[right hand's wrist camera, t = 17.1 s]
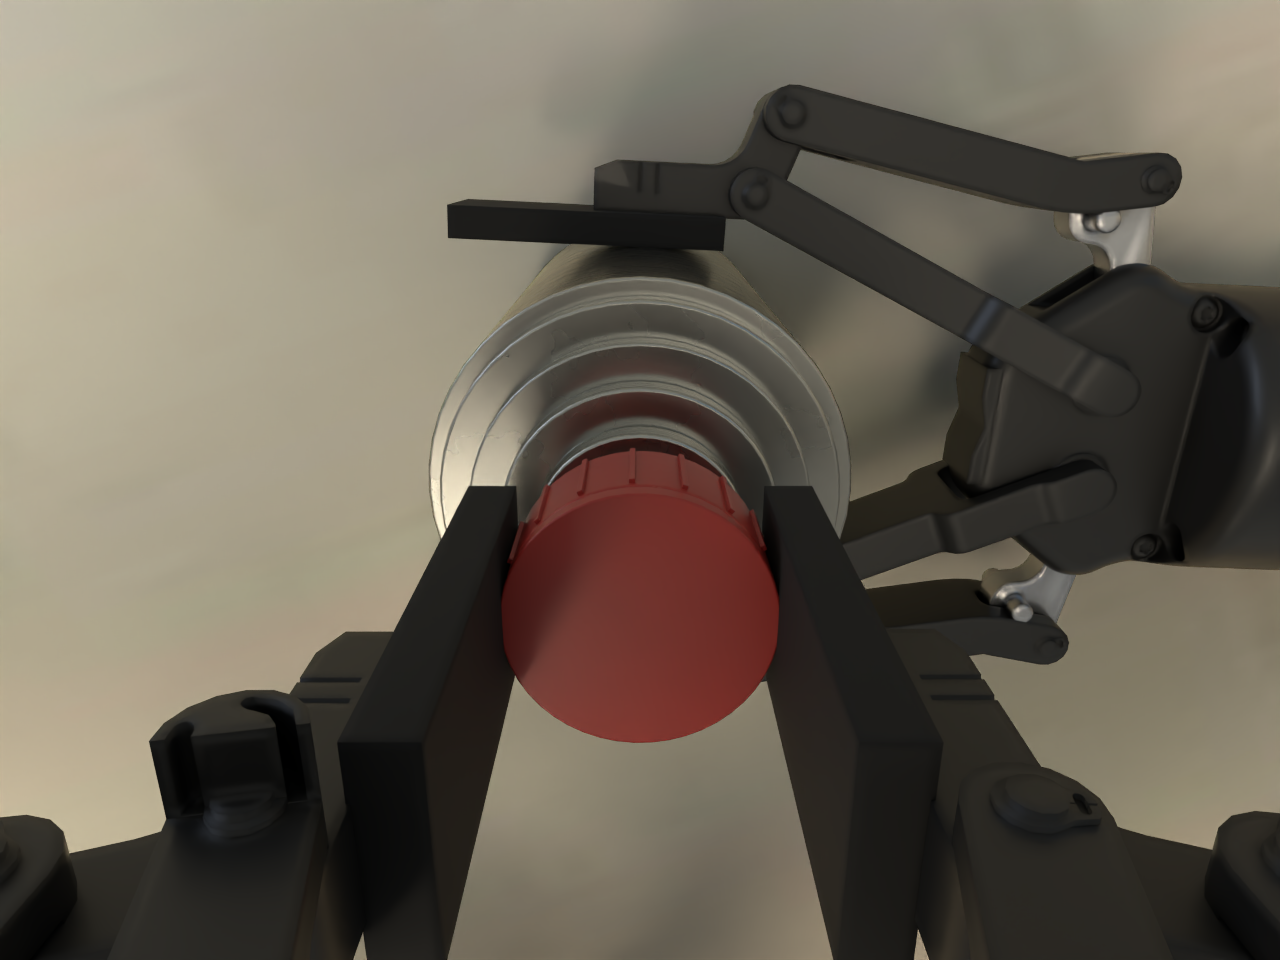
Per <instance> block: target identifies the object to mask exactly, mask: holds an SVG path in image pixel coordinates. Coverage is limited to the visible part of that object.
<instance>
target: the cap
mask: <svg viewBox="0 0 1280 960" xmlns="http://www.w3.org/2000/svg"><path fill="white" fill-rule="evenodd" d="M766 550H767V548H766V544H765V541H764V538H763V535H762V532H761V529H760V526H759V523H758V520H757V516H756V513H755V511H754V510H753V509H752V510H751V511H749V509H748V507H747V506H746V504H745V503H744V501H743V500H742V499H741V498H740V496H739V495H738V494H737V493H736V492H735V490H734V489H732V488H731V487H730V486H729V485H728V483H727V479H726V477H724V476H723V475H722V476H721V477H718V476H717V475H716V474H714V473H713V472H711V471H710V470H708V469H706V468H704V467H703V466H701V465H699V464H697V463H695V462H692V461H689V460H687V459H685V458H684V455H683V454H679V455H678V456H674V455H670V454H666V453H659V452H650V451H635V448H630V451H628V452H621V453H614V454H610V455H606V456H602V457H599V458H595V459H593V460H591V461H588V459H584V460H582V464H581V465H579V466H577V467H576V468H574V469H572V470H570V471H569V472H567V473H565V474H564V475H563V476H562V477H560V478H559V479H558V480H556V481H555V482H554V483H553V484H552V485H551V486H549V485H547V484H546V485H545V486H544V488H543V491H542V495H541V496H540V497H539V499H538V500H537V502H536V503H535V504H534V506H533V507H532V509H531V510H530V512H529V514H528V516H527V518H526V520H525V522H522V521H520V524H519V526H518V530H517V533H516V536H515V539H514V542H513V545H512V548H511V551H510V554H509V557H508V561H507V563H509V564H510V567H509V570H508V574H507V577H506V580H505V583H504V587H503V591H502V596H501V609H502V626H503V642H504V652H505V654H506V657H507V659H508V662H509V664H510V667H511V668H512V670H513V672H514V674H515V676H516V677H517V679H518V681H519V682H520V683H521V685H522V686H523V687H524V689H525V690H526V691H527V693H528V694H529V695H530V696H531V697H532V698H533V699H534V700H535V701H536V702H537V703H538V704H539V705H540V706H541V707H542V708H543V709H545V710H546V711H547V712H549V713H550V714H551V715H552V716H554V717H555V718H557V719H559V720H560V721H562V722H564V723H565V724H567V725H569V726H571V727H573V728H575V729H577V730H580V731H582V732H584V733H587V734H590V735H593V736H596V737H600V738H604V739H609V740H614V741H622V742H632V743H643V742H658V741H666V740H671V739H675V738H680V737H684V736H687V735H690V734H693V733H695V732H698V731H701V730H703V729H705V728H707V727H709V726H711V725H713V724H715V723H717V722H718V721H720V720H721V719H723V718H724V717H726V716H727V715H729V714H730V713H732V712H733V711H734V710H735V709H736V708H738V707H739V706H740V705H741V704H742V703H743V702H744V701H745V700H746V699H747V698H748V697H749V696H750V695H751V694H752V693H753V692H754V690H755V689H756V688H757V686H758V685H759V683H760V682H761V680H762V679H763V678H764V676H765V674H766V672H767V670H768V668H769V666H770V664H771V662H772V660H773V657H774V654H775V651H776V648H777V635H778V619H779V595H778V591H777V587H776V583H775V580H774V577H773V574H772V570H771V567H770V564H769V561H768V558H767V555H766Z"/></svg>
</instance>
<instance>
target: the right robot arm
mask: <svg viewBox="0 0 1280 960" xmlns="http://www.w3.org/2000/svg"><path fill="white" fill-rule="evenodd" d="M517 530H518V508H517V488H516V486H468V488H467V490H466V492H465V494H464V496H463V498H462V500H461V502H460V503H459V505H458V507H457V509H456V511H455V513H454V515H453V517H452V519H451V521H450V523H449V525H448V527H447V529H446V531H445V533H444V535H443V537H442V539H441V540H440V542H439V544H438V546H437V548H436V550H435V552H434V554H433V556H432V558H431V560H430V562H429V564H428V566H427V568H426V570H425V572H424V574H423V576H422V578H421V579H420V581H419V583H418V585H417V587H416V589H415V591H414V593H413V595H412V597H411V599H410V601H409V603H408V605H407V607H406V609H405V611H404V613H403V615H402V617H401V618H400V620H399V622H398V624H397V626H396V628H395V630H394V632H345V633H344V634H342V635H341V636H339V637H338V638H336V639H335V640H334V641H332V642H331V643H329V644H328V645H327V646H325V647H324V648H322V649H321V650H320V651H318V652H317V653H316V654H315V655H314V657H313V659H312V660H311V662H310V663H309V665H308V666H307V668H306V669H305V671H304V673H303V674H302V676H301V677H300V683H296V685H295V686H294V688H293V690H292V691H291V693H290V694H286V693H282V692H279V691H275V690H245V691H240V692H235V693H230V694H225V695H220V696H216V697H213V698H211V699H208V700H206V701H203V702H201V703H198V704H196V705H193V706H191V707H188V708H186V709H185V710H183V711H182V712H180V713H179V714H177V715H176V716H174V717H173V718H171V719H170V720H168V721H167V722H165V723H164V724H163V725H162V726H161V727H160V729H159V730H158V731H157V732H156V733H155V735H154V736H153V737H152V738H151V739H150V741H149V743H150V748H151V752H152V757H153V761H154V766H155V770H156V775H157V779H158V784H159V788H160V793H161V797H162V801H163V806H164V810H165V815H166V821H165V824H164V826H163V828H162V831H161V832H158V833H155V834H151V835H148V836H144V837H141V838H137V839H134V840H129V841H125V842H120V843H116V844H111V845H106V846H102V847H97V848H93V849H88V850H84V851H79V852H75V853H70V854H69V851H68V847H67V843H66V840H65V836H64V832H63V831H62V830H61V829H60V828H59V827H58V826H57V825H56V824H54V823H53V822H52V821H51V820H50V819H45V818H40V817H35V816H30V815H21V816H10V817H0V960H353V958H354V955H355V953H356V950H357V947H358V944H359V941H360V939H361V936H362V933H363V934H364V942H365V949H366V956H367V960H447V958H448V954H449V950H450V946H451V942H452V937H453V933H454V929H455V925H456V921H457V916H458V912H459V908H460V904H461V900H462V895H463V891H464V887H465V883H466V879H467V875H468V870H469V866H470V862H471V858H472V854H473V849H474V845H475V841H476V837H477V833H478V828H479V824H480V820H481V816H482V812H483V807H484V803H485V799H486V795H487V791H488V786H489V782H490V778H491V774H492V770H493V765H494V761H495V757H496V753H497V749H498V745H499V740H500V736H501V732H502V728H503V724H504V719H505V715H506V711H507V707H508V703H509V698H510V694H511V690H512V686H513V682H514V677H515V674H514V672H513V670H512V668H511V667H510V664H509V662H508V659H507V657H506V654H505V652H504V642H503V626H502V609H501V596H502V591H503V587H504V583H505V580H506V577H507V574H508V570H509V567H510V564H509V563H507V561H508V557H509V554H510V551H511V548H512V545H513V542H514V539H515V536H516V533H517ZM762 535H763V538H764V541H765V544H766V548H767V550H766V555H767V558H768V561H769V564H770V567H771V570H772V574H773V577H774V580H775V583H776V587H777V591H778V595H779V619H778V635H777V648H776V651H775V654H774V657H773V660H772V662H771V664H770V666H769V668H768V670H767V672H766V674H765V675H766V679H767V683H768V688H769V692H770V696H771V700H772V704H773V709H774V713H775V717H776V721H777V725H778V729H779V734H780V738H781V742H782V746H783V750H784V755H785V759H786V763H787V767H788V771H789V776H790V780H791V784H792V788H793V792H794V797H795V801H796V805H797V809H798V813H799V818H800V822H801V826H802V830H803V834H804V838H805V843H806V847H807V851H808V855H809V859H810V864H811V868H812V872H813V876H814V880H815V885H816V889H817V893H818V897H819V901H820V906H821V910H822V914H823V918H824V922H825V927H826V931H827V935H828V939H829V943H830V947H831V952H832V956H833V960H914V953H915V946H916V939H917V932H918V929H919V932H920V935H921V938H922V941H923V943H924V946H925V949H926V952H927V955H928V957H929V960H1280V813H1271V812H1260V811H1253V812H1248V813H1243V814H1238V815H1233V816H1231V817H1230V818H1229V819H1227V820H1226V821H1225V822H1224V823H1223V824H1222V825H1221V826H1220V827H1219V828H1218V832H1217V835H1216V839H1215V842H1214V846H1213V850H1210V849H1206V848H1201V847H1197V846H1192V845H1187V844H1183V843H1178V842H1174V841H1169V840H1165V839H1160V838H1155V837H1151V836H1146V835H1143V834H1139V833H1136V832H1132V831H1129V830H1126V829H1122V828H1120V827H1117V825H1116V822H1115V820H1114V818H1113V816H1112V815H1111V813H1110V812H1109V811H1108V809H1107V808H1106V806H1105V805H1104V804H1103V802H1102V801H1101V799H1100V798H1099V797H1097V796H1096V795H1095V794H1093V793H1092V792H1091V791H1089V790H1088V789H1087V788H1085V787H1084V786H1083V785H1081V784H1080V783H1079V782H1077V781H1075V780H1073V779H1071V778H1069V777H1067V776H1064V775H1062V774H1060V773H1058V772H1056V771H1053V770H1051V769H1048V768H1044V767H1041V766H1040V765H1039V763H1038V762H1037V760H1036V758H1035V757H1034V755H1033V754H1032V752H1031V751H1030V749H1029V748H1028V746H1027V745H1026V743H1025V742H1024V740H1023V738H1022V737H1021V735H1020V734H1019V732H1018V731H1017V729H1016V728H1015V726H1014V725H1013V723H1012V722H1011V720H1010V718H1009V717H1008V715H1007V714H1006V712H1005V711H1004V709H1003V708H1002V706H1001V705H1000V703H999V702H998V700H994V694H993V692H992V691H991V689H990V688H989V686H988V685H987V683H986V682H985V680H984V679H981V674H980V672H979V671H978V669H977V668H976V666H975V665H974V663H973V662H972V660H971V659H970V657H969V656H968V654H967V652H966V651H965V650H964V649H963V648H961V647H960V646H959V645H957V644H956V643H954V642H953V641H951V640H950V639H949V638H947V637H946V636H944V635H943V634H942V633H940V632H939V631H937V630H936V629H885V627H884V625H883V623H882V621H881V619H880V617H879V615H878V613H877V611H876V609H875V607H874V605H873V604H872V602H871V600H870V598H869V596H868V594H867V592H866V590H865V588H864V586H863V584H862V582H861V580H860V578H859V576H858V574H857V572H856V570H855V568H854V567H853V565H852V563H851V561H850V559H849V557H848V555H847V553H846V551H845V549H844V547H843V545H842V543H841V541H840V539H839V537H838V535H837V533H836V531H835V530H834V528H833V526H832V524H831V522H830V520H829V518H828V516H827V514H826V512H825V510H824V508H823V506H822V504H821V502H820V500H819V498H818V496H817V494H816V493H815V491H814V489H813V487H812V486H764V500H763V520H762Z"/></svg>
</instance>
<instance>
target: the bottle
mask: <svg viewBox="0 0 1280 960" xmlns="http://www.w3.org/2000/svg"><path fill="white" fill-rule="evenodd" d="M630 448H635V451H650V452H659V453H666V454H670V455H674V456H678V455H679V454H683V455H684V458H685V459H687V460H689V461H692V462H695V463H697V464H699V465H701V466H703V467H704V468H706V469H708V470H710V471H711V472H713V473H714V474H716V475H717V476H718V477H721V476H722V475H723V476H724V477H726V479H727V483H728V485H729V486H730V487H731V488H732V489H734V490H735V492H736V493H737V494H738V495H739V496H740V498H741V499H742V500H743V501H744V503H745V504H746V506H747V507H748V509H749V511H751V510H752V509H753V510H754V511H755V513H756V516H757V520H758V523H759V526H760V529H761V532H762V520H763V500H764V486H812V487H813V489H814V491H815V493H816V494H817V496H818V498H819V500H820V502H821V504H822V506H823V508H824V510H825V512H826V514H827V516H828V518H829V520H830V522H831V524H832V526H833V528H834V530H835V531H836V533H837V535H838V537H839V539H840V537H841V533H842V530H843V527H844V523H845V520H846V517H847V511H848V505H849V498H850V492H851V459H850V452H849V444H848V437H847V433H846V430H845V426H844V422H843V419H842V415H841V412H840V410H839V407H838V405H837V403H836V400H835V398H834V396H833V393H832V391H831V389H830V387H829V385H828V384H827V382H826V380H825V379H824V377H823V375H822V374H821V372H820V370H819V369H818V367H817V366H816V364H815V363H814V362H813V360H812V359H811V358H810V357H809V355H808V354H807V353H806V352H805V351H804V349H803V348H802V347H801V346H800V345H799V343H798V342H797V341H796V340H795V339H794V337H793V336H792V335H791V334H790V333H789V331H788V330H787V329H786V328H785V327H784V325H783V324H782V323H781V322H780V320H779V319H778V318H777V317H776V316H775V314H774V313H773V312H772V311H771V310H770V308H769V307H768V306H767V305H766V304H765V302H764V301H763V300H762V299H761V298H760V296H759V295H758V294H757V293H756V292H755V290H754V289H753V288H752V287H751V286H750V284H749V283H748V282H747V281H746V280H745V278H744V277H743V276H742V275H741V273H740V272H739V271H738V270H737V269H736V267H735V266H734V265H733V264H732V263H731V262H730V261H729V260H728V259H727V258H726V257H725V256H724V255H723V254H721V253H720V252H719V251H709V250H688V249H667V248H646V247H625V246H605V245H584V244H570V245H569V246H568V247H566V248H565V249H563V250H562V251H561V252H559V253H558V254H557V255H556V256H555V257H554V258H553V259H552V260H551V261H550V262H549V263H548V264H547V265H546V266H545V267H544V268H543V270H542V271H541V272H540V273H539V274H538V276H537V277H536V278H535V279H534V280H533V282H532V283H531V284H530V285H529V286H528V288H527V289H526V290H525V291H524V292H523V294H522V295H521V296H520V297H519V299H518V300H517V301H516V302H515V303H514V305H513V306H512V307H511V308H510V309H509V311H508V312H507V313H506V314H505V315H504V317H503V318H502V319H501V320H500V321H499V323H498V324H497V325H496V326H495V328H494V329H493V330H492V331H491V332H490V334H489V335H488V336H487V337H486V338H485V340H484V341H483V342H482V343H481V344H480V346H479V347H478V348H477V349H476V351H475V352H474V353H473V354H472V355H471V357H470V358H469V359H468V360H467V361H466V363H465V364H464V365H463V367H462V369H461V370H460V372H459V374H458V375H457V377H456V378H455V380H454V382H453V383H452V385H451V387H450V388H449V391H448V393H447V395H446V398H445V400H444V402H443V405H442V407H441V409H440V412H439V415H438V418H437V422H436V426H435V429H434V433H433V437H432V443H431V451H430V459H429V493H430V499H431V505H432V512H433V517H434V520H435V524H436V527H437V530H438V534H439V537H440V540H441V539H442V537H443V535H444V533H445V531H446V529H447V527H448V525H449V523H450V521H451V519H452V517H453V515H454V513H455V511H456V509H457V507H458V505H459V503H460V502H461V500H462V498H463V496H464V494H465V492H466V490H467V488H468V486H516V488H517V508H518V526H519V524H520V521H522V522H525V520H526V518H527V516H528V514H529V512H530V510H531V509H532V507H533V506H534V504H535V503H536V502H537V500H538V499H539V497H540V496H541V495H542V491H543V488H544V486H545V485H546V484H547V485H549V486H551V485H552V484H553V483H554V482H555V481H556V480H558V479H559V478H560V477H562V476H563V475H564V474H565V473H567V472H569V471H570V470H572V469H574V468H576V467H577V466H579V465H581V464H582V460H584V459H588V461H591V460H593V459H595V458H599V457H602V456H606V455H610V454H614V453H621V452H628V451H630Z"/></svg>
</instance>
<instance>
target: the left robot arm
mask: <svg viewBox="0 0 1280 960" xmlns="http://www.w3.org/2000/svg"><path fill="white" fill-rule="evenodd" d="M800 150H803V151H807V152H811V153H815V154H818V155H822V156H826V157H830V158H834V159H837V160H841V161H845V162H849V163H853V164H857V165H860V166H864V167H868V168H872V169H876V170H880V171H883V172H887V173H891V174H895V175H899V176H902V177H906V178H910V179H914V180H918V181H922V182H925V183H929V184H933V185H937V186H941V187H944V188H948V189H952V190H956V191H960V192H964V193H967V194H971V195H975V196H979V197H983V198H986V199H990V200H994V201H998V202H1002V203H1006V204H1011V205H1016V206H1021V207H1028V208H1035V209H1042V210H1049V211H1054V226H1055V228H1056V231H1057V232H1058V233H1059V234H1060V236H1062V237H1063V238H1065V239H1068V240H1072V241H1077V242H1082V243H1084V244H1085V245H1087V246H1088V248H1089V249H1090V250H1091V252H1092V255H1093V261H1094V264H1093V265H1091V266H1089V267H1087V268H1085V269H1084V270H1082V271H1080V272H1079V273H1077V274H1075V275H1074V276H1072V277H1070V278H1069V279H1067V280H1065V281H1064V282H1062V283H1060V284H1059V285H1057V286H1056V287H1054V288H1052V289H1051V290H1049V291H1047V292H1046V293H1044V294H1042V295H1041V296H1039V297H1037V298H1036V299H1034V300H1032V301H1031V302H1029V303H1027V304H1026V305H1024V306H1022V307H1021V308H1019V309H1017V308H1015V307H1013V306H1011V305H1010V304H1008V303H1006V302H1004V301H1002V300H1000V299H998V298H996V297H994V296H992V295H990V294H988V293H986V292H985V291H983V290H981V289H979V288H977V287H976V286H974V285H972V284H970V283H968V282H967V281H965V280H963V279H961V278H960V277H958V276H956V275H954V274H952V273H951V272H949V271H947V270H945V269H943V268H942V267H940V266H938V265H936V264H935V263H933V262H931V261H929V260H927V259H926V258H924V257H922V256H920V255H919V254H917V253H915V252H913V251H911V250H910V249H908V248H906V247H904V246H902V245H901V244H899V243H897V242H895V241H894V240H892V239H890V238H888V237H886V236H885V235H883V234H881V233H879V232H878V231H876V230H874V229H872V228H870V227H869V226H867V225H865V224H863V223H861V222H860V221H858V220H856V219H854V218H853V217H851V216H849V215H847V214H845V213H844V212H842V211H840V210H838V209H836V208H835V207H833V206H831V205H829V204H828V203H826V202H824V201H822V200H820V199H819V198H817V197H815V196H813V195H812V194H810V193H808V192H806V191H804V190H803V189H801V188H799V187H797V186H795V185H794V184H792V183H790V182H788V181H787V179H788V176H789V174H790V172H791V170H792V168H793V165H794V163H795V161H796V159H797V156H798V154H799V152H800ZM1181 179H1182V172H1181V166H1180V164H1179V163H1178V161H1177V159H1176V158H1174V157H1173V156H1171V155H1169V154H1166V153H1100V154H1092V155H1083V156H1074V157H1066V156H1063V155H1059V154H1055V153H1051V152H1048V151H1044V150H1040V149H1036V148H1033V147H1029V146H1025V145H1022V144H1018V143H1014V142H1010V141H1007V140H1003V139H999V138H995V137H992V136H988V135H984V134H980V133H977V132H973V131H969V130H966V129H962V128H958V127H954V126H951V125H947V124H943V123H939V122H936V121H932V120H928V119H924V118H921V117H917V116H913V115H910V114H906V113H902V112H898V111H895V110H891V109H887V108H883V107H880V106H876V105H872V104H868V103H865V102H861V101H857V100H854V99H850V98H846V97H842V96H839V95H835V94H831V93H827V92H824V91H820V90H816V89H812V88H809V87H805V86H801V85H787V86H785V87H781V88H779V89H777V90H775V91H773V92H771V93H768V94H766V95H765V96H764V97H763V98H762V99H761V100H759V101H758V103H757V105H756V107H755V109H754V115H753V118H752V120H751V123H750V125H749V127H748V130H747V132H746V134H745V137H744V139H743V141H742V144H741V145H740V147H739V149H738V151H737V152H736V153H735V154H734V155H733V156H732V157H731V158H729V159H727V160H726V161H724V162H721V163H718V164H696V163H676V162H656V161H636V160H615V161H612V162H610V163H607V164H604V165H601V166H599V167H596V168H595V176H594V205H580V204H559V203H539V202H518V201H498V200H477V199H467V200H463V201H459V202H456V203H452V204H448V205H447V213H448V238H459V239H480V240H500V241H521V242H542V243H563V244H584V245H605V246H625V247H646V248H667V249H688V250H709V251H723V249H724V236H725V223H726V219H745V220H747V221H749V222H751V223H752V224H754V225H756V226H758V227H760V228H762V229H763V230H765V231H767V232H769V233H771V234H772V235H774V236H776V237H778V238H780V239H782V240H783V241H785V242H787V243H789V244H791V245H793V246H794V247H796V248H798V249H800V250H802V251H804V252H805V253H807V254H809V255H811V256H813V257H814V258H816V259H818V260H820V261H822V262H824V263H825V264H827V265H829V266H831V267H833V268H835V269H836V270H838V271H840V272H842V273H844V274H845V275H847V276H849V277H851V278H853V279H855V280H856V281H858V282H860V283H862V284H864V285H866V286H867V287H869V288H871V289H873V290H875V291H876V292H878V293H880V294H882V295H884V296H886V297H887V298H889V299H891V300H893V301H895V302H897V303H898V304H900V305H902V306H904V307H906V308H907V309H909V310H911V311H913V312H915V313H917V314H918V315H920V316H922V317H924V318H926V319H928V320H929V321H931V322H933V323H935V324H937V325H939V326H940V327H942V328H944V329H946V330H948V331H949V332H951V333H953V334H955V335H957V336H959V337H960V338H962V339H964V340H966V341H968V342H969V343H971V344H973V345H972V347H971V348H970V350H969V352H961V355H960V360H959V366H958V372H957V378H956V381H957V391H958V401H959V408H958V411H957V413H956V415H955V417H954V419H953V422H952V424H951V426H950V428H949V430H948V433H947V436H946V442H945V448H944V454H943V460H942V461H939V462H936V463H934V464H931V465H928V466H925V467H923V468H920V469H918V470H916V471H914V472H912V473H911V474H910V475H909V476H908V478H907V479H906V480H905V481H904V482H902V483H900V484H897V485H894V486H891V487H889V488H886V489H883V490H881V491H878V492H875V493H872V494H870V495H867V496H864V497H861V498H859V499H856V500H853V501H850V502H849V505H848V511H847V517H846V520H845V523H844V527H843V530H842V533H841V537H840V541H841V543H842V545H843V547H844V549H845V551H846V553H847V555H848V557H849V559H850V561H851V563H852V565H853V567H854V568H855V570H856V572H857V574H858V576H859V578H860V580H862V579H865V578H868V577H871V576H874V575H877V574H879V573H882V572H885V571H888V570H891V569H894V568H896V567H899V566H902V565H905V564H908V563H911V562H913V561H916V560H919V559H922V558H925V557H928V556H930V555H933V554H936V553H940V552H949V553H954V554H960V553H966V552H970V551H973V550H976V549H979V548H982V547H985V546H987V545H990V544H993V543H996V542H999V541H1002V540H1004V539H1007V538H1010V537H1012V538H1013V539H1014V540H1015V541H1016V542H1018V543H1019V544H1020V545H1021V546H1022V547H1024V548H1025V549H1026V550H1027V551H1028V552H1030V553H1031V554H1030V555H1029V557H1028V559H1027V560H1026V561H1025V562H1024V563H1023V564H1021V565H1020V566H1018V567H1015V568H1012V569H1001V570H998V569H995V568H991V569H988V570H986V571H985V572H984V573H983V575H982V581H979V580H972V579H943V580H933V581H925V582H918V583H910V584H902V585H894V586H887V587H879V588H871V589H865V590H866V592H867V594H868V596H869V598H870V600H871V602H872V604H873V605H874V607H875V609H876V611H877V613H878V615H879V617H880V619H881V621H882V623H883V625H884V627H885V629H936V630H937V631H939V632H940V633H942V634H943V635H944V636H946V637H947V638H949V639H950V640H951V641H953V642H954V643H956V644H957V645H959V646H960V647H961V648H963V649H964V650H965V651H966V652H967V654H968V656H971V655H979V654H986V655H992V656H997V657H1002V658H1008V659H1013V660H1018V661H1024V662H1029V663H1035V664H1051V663H1054V662H1057V661H1058V660H1059V659H1061V658H1062V657H1063V656H1064V654H1065V653H1066V652H1067V650H1068V645H1069V641H1068V637H1067V635H1066V634H1065V633H1064V632H1063V631H1062V630H1061V628H1060V627H1059V626H1058V625H1057V620H1058V617H1059V615H1060V612H1061V610H1062V608H1063V605H1064V603H1065V600H1066V598H1067V595H1068V593H1069V591H1070V588H1071V586H1072V583H1073V581H1074V579H1075V576H1076V575H1081V574H1086V573H1090V572H1093V571H1095V570H1098V569H1100V568H1102V567H1105V566H1107V565H1110V564H1114V563H1118V562H1123V561H1141V562H1149V563H1156V564H1163V565H1172V566H1187V567H1213V568H1238V569H1263V570H1280V287H1262V286H1241V285H1219V284H1198V283H1181V282H1178V281H1176V280H1174V279H1173V278H1171V277H1170V276H1168V275H1167V274H1166V273H1165V272H1163V271H1162V270H1160V269H1158V268H1156V267H1154V266H1151V256H1152V244H1153V231H1154V219H1155V207H1156V206H1158V205H1161V204H1164V203H1165V202H1167V201H1168V200H1169V199H1171V198H1172V197H1173V196H1174V194H1175V193H1176V192H1177V190H1178V189H1179V186H1180V183H1181ZM764 681H767V679H766V675H765V676H764V678H763V679H762V680H761V682H764Z"/></svg>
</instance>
